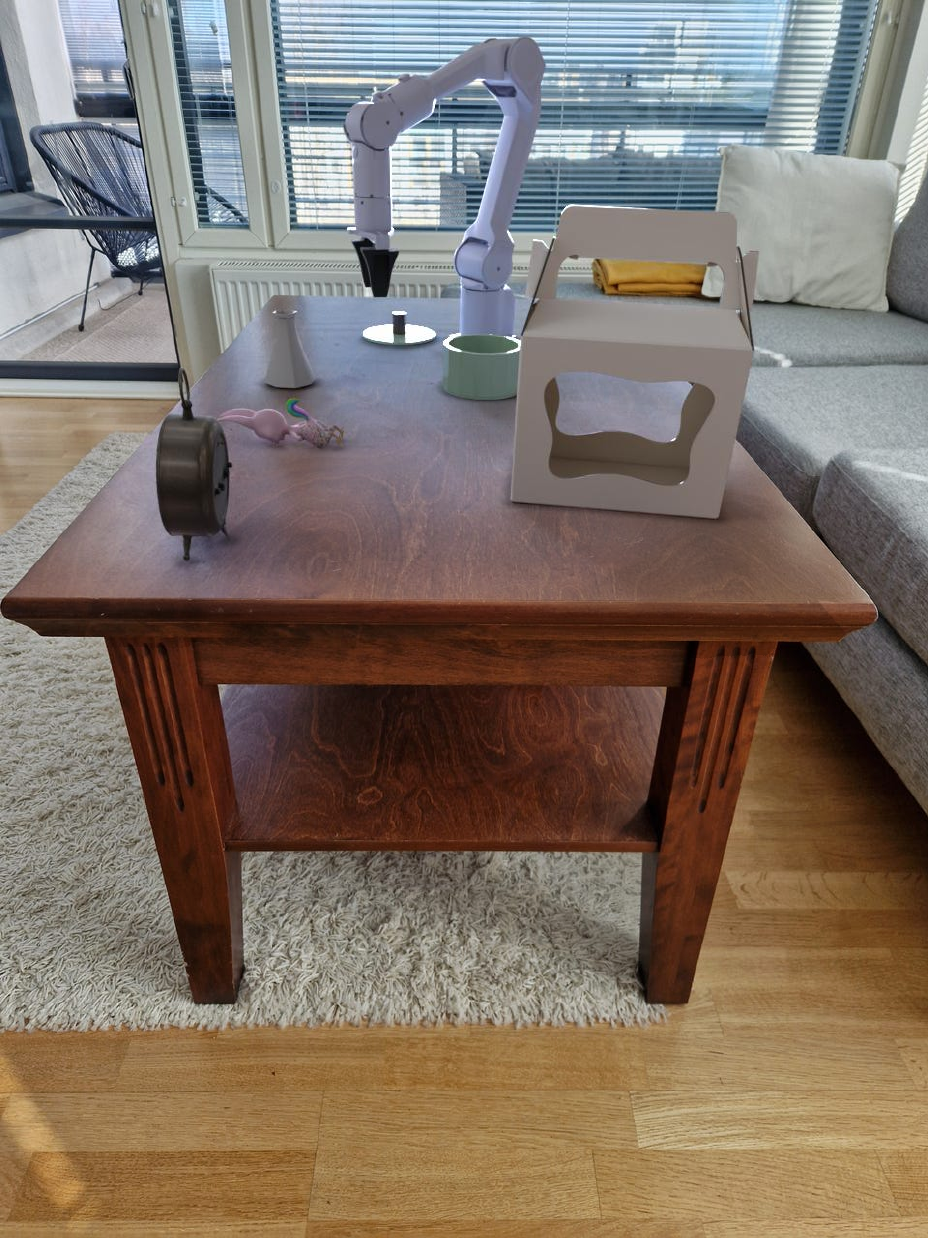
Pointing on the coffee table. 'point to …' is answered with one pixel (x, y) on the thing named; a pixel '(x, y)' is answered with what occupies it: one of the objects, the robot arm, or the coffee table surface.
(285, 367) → the flask
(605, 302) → the gable box
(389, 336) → the lid
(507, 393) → the jar
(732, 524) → the coffee table surface
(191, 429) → the alarm clock
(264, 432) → the rabbit figure
